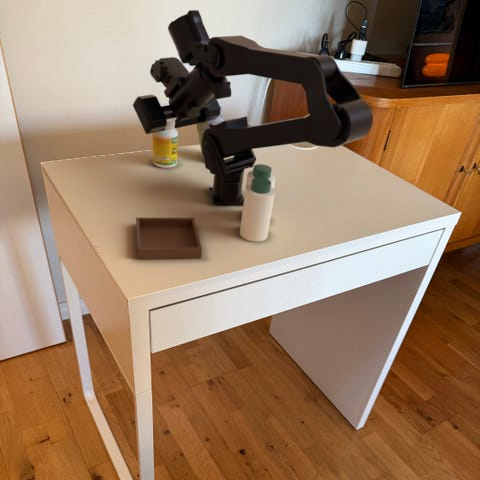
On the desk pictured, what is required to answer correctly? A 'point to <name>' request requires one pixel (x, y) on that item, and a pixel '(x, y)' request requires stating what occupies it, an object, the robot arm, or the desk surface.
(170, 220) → the tray
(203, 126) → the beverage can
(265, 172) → the white bottle
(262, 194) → the white bottle
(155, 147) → the supplement bottle
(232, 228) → the desk surface
